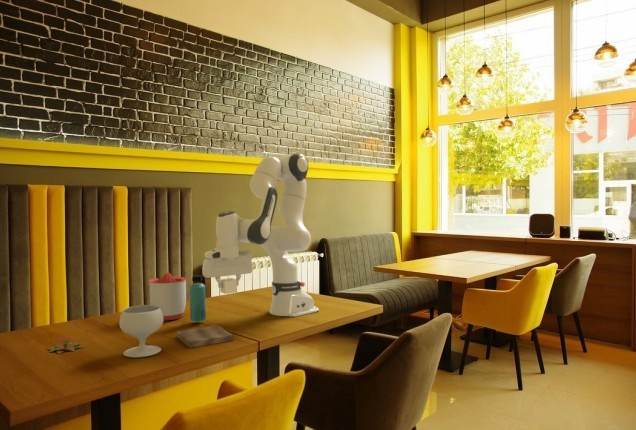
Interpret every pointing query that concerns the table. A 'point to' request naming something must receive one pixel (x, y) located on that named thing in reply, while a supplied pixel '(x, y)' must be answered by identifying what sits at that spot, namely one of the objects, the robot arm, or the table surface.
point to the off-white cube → (228, 285)
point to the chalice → (141, 327)
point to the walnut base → (204, 336)
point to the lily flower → (65, 346)
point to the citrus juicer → (169, 295)
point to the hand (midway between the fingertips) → (228, 286)
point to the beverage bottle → (197, 300)
